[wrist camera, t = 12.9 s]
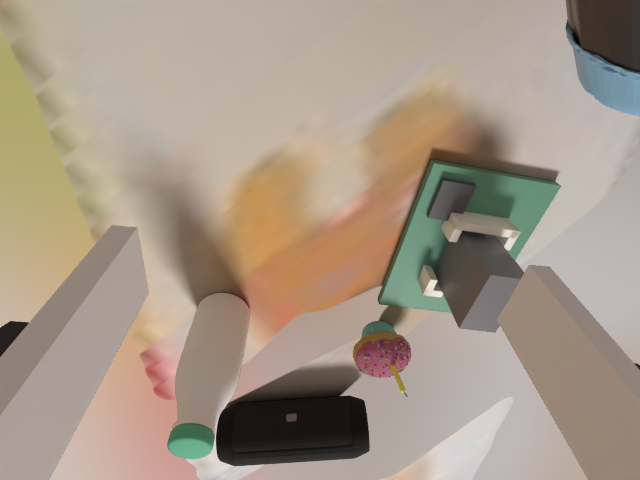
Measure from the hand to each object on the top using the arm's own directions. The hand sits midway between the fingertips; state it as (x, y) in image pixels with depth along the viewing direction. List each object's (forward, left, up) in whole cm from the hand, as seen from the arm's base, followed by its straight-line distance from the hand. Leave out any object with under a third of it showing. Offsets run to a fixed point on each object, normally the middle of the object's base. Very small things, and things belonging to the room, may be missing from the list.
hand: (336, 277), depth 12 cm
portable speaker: (+56, +7, -30) cm, 63 cm away
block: (+16, +22, -28) cm, 39 cm away
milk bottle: (+33, -8, -30) cm, 45 cm away
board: (+16, +22, -30) cm, 40 cm away
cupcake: (+34, +16, -30) cm, 48 cm away
